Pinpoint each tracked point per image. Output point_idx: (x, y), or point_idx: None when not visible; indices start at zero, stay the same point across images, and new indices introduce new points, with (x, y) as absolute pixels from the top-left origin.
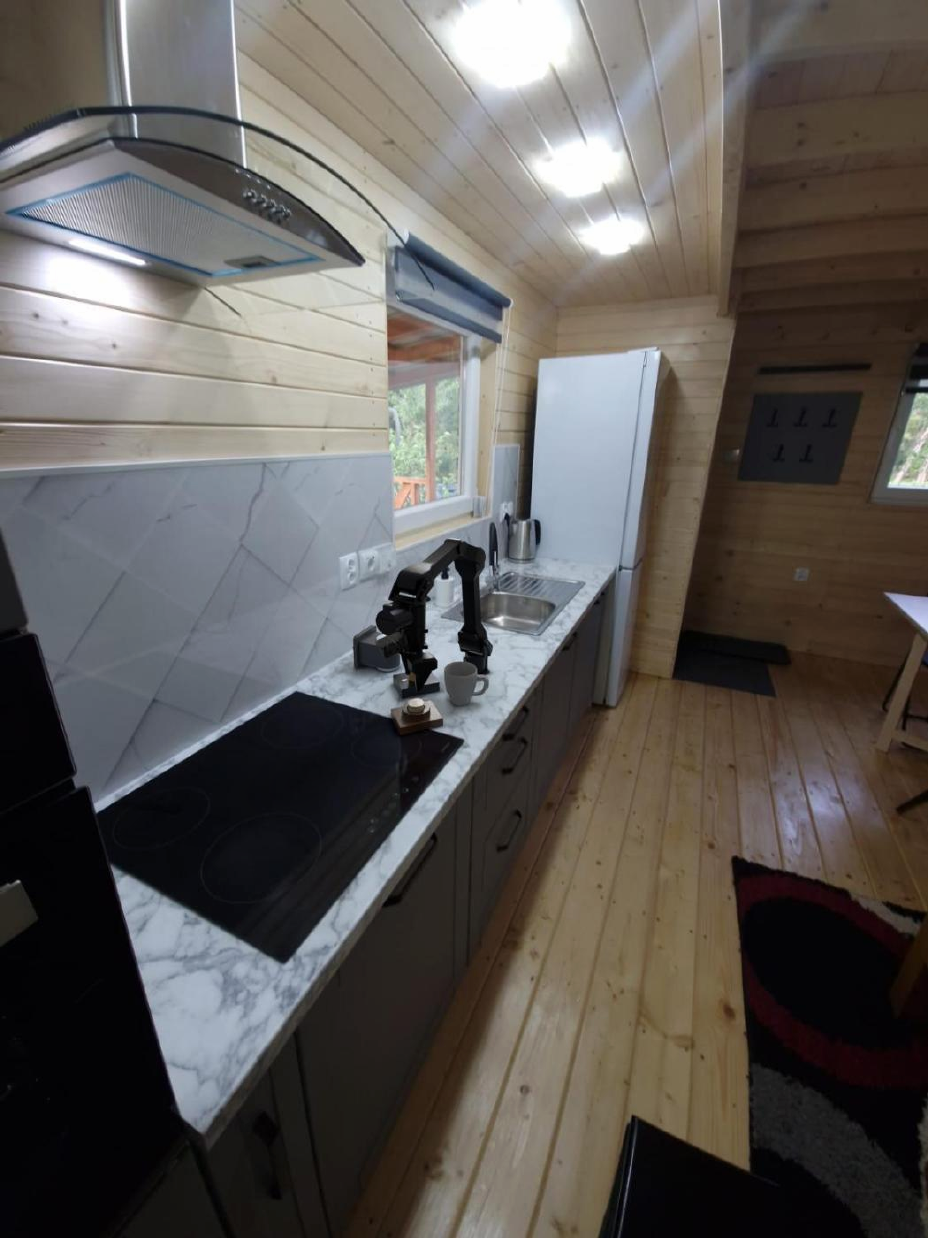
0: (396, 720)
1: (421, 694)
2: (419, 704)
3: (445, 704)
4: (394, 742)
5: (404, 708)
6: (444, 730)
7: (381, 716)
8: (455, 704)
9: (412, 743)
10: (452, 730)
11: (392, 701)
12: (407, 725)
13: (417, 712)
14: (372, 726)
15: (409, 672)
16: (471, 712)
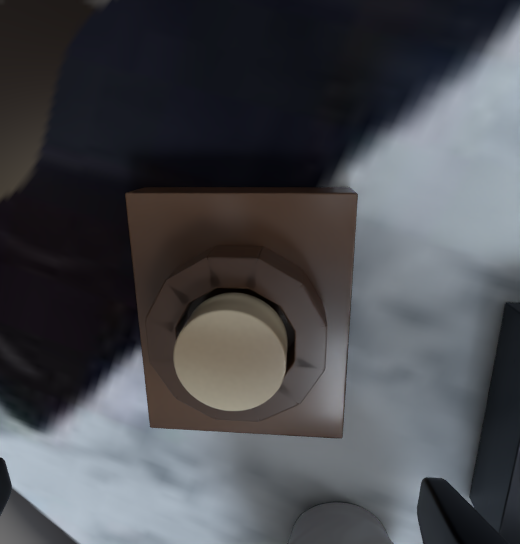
0: (209, 193)
1: (486, 412)
2: (196, 374)
3: (335, 473)
4: (93, 137)
5: (246, 272)
6: (126, 391)
7: (375, 130)
8: (311, 509)
9: (63, 224)
10: (116, 419)
11: (511, 241)
12: (133, 239)
13: (171, 332)
14: (288, 45)
15: (427, 531)
16: (224, 534)
